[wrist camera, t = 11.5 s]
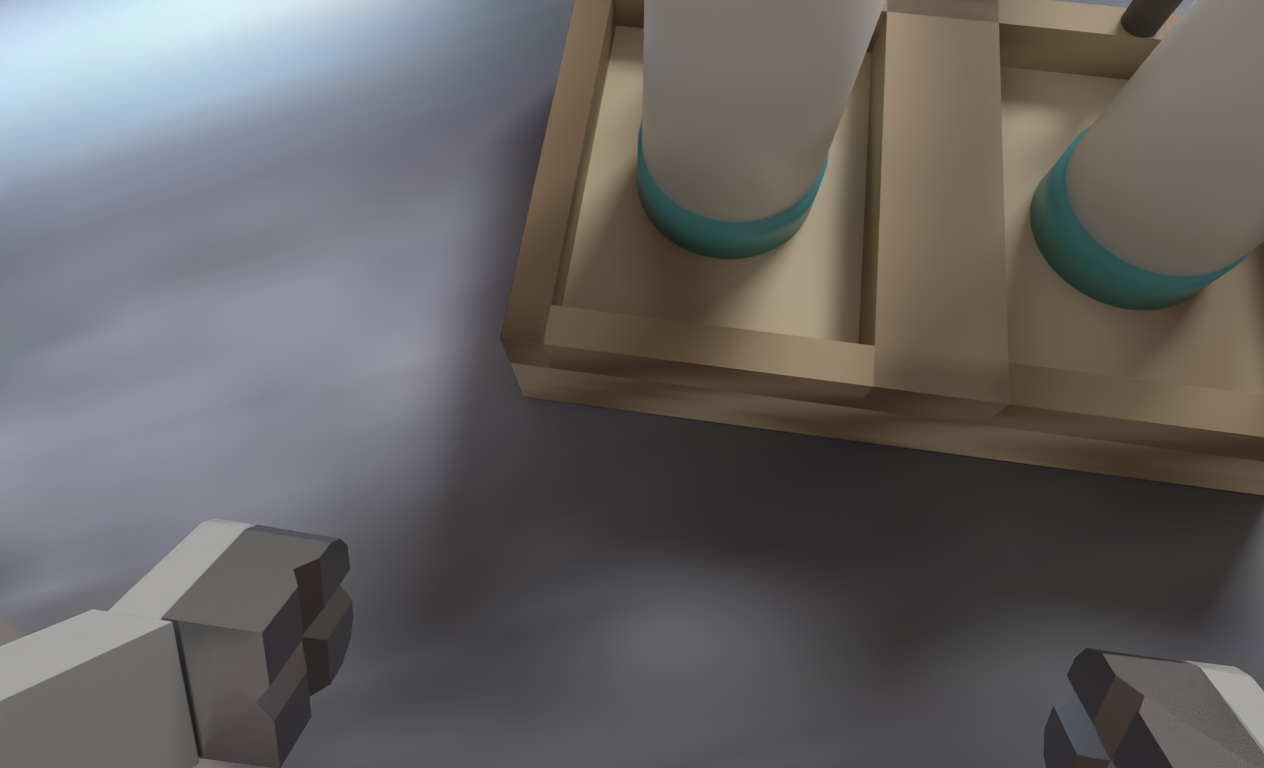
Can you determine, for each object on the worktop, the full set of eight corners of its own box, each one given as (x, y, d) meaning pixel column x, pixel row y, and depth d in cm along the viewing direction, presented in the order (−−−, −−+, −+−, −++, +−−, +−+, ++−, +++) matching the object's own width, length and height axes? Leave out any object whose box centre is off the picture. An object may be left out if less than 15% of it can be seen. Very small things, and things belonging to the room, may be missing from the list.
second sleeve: (1033, 297, 20) (1325, 18, 11) (1027, 143, 22) (1278, -201, 13) (1228, 321, 20) (1673, 54, 11) (1206, 163, 21) (1580, -174, 13)
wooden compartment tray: (524, 396, 22) (474, 275, 15) (592, 58, 26) (577, -153, 19) (1270, 496, 21) (1566, 411, 14) (1216, 125, 25) (1425, -73, 18)
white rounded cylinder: (625, 247, 20) (621, -54, 12) (649, 100, 22) (660, -255, 14) (809, 269, 20) (937, -21, 12) (819, 119, 22) (937, -230, 13)
